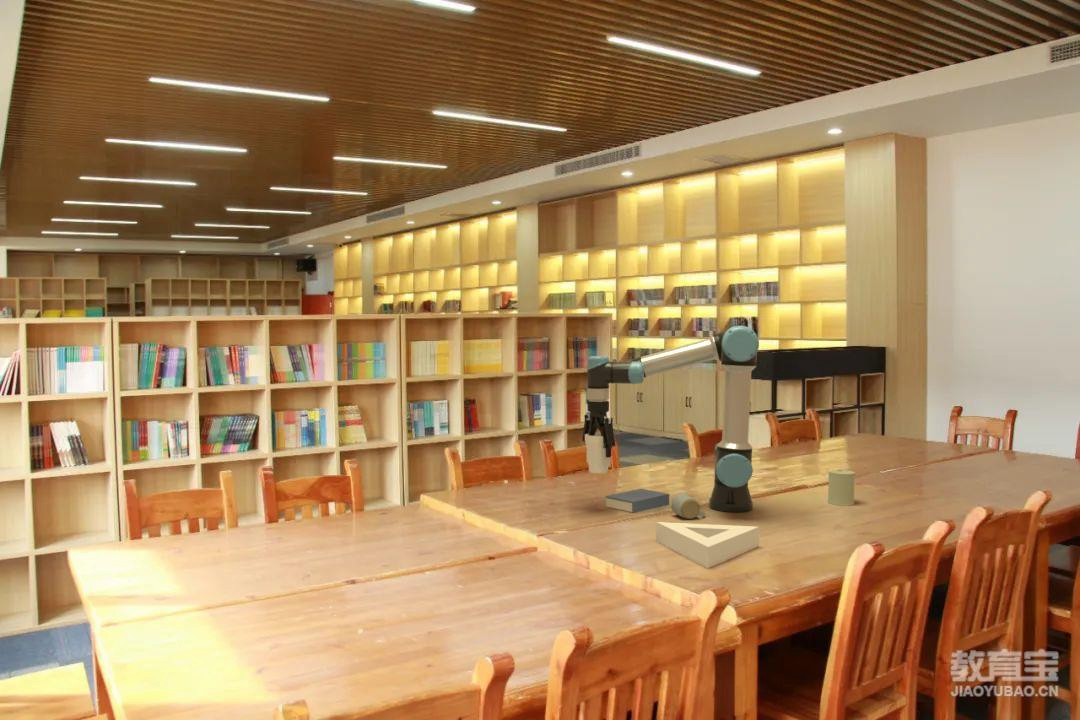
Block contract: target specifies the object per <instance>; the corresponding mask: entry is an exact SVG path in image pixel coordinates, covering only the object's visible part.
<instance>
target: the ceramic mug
mask: <svg viewBox="0 0 1080 720" xmlns="http://www.w3.org/2000/svg"><path fill="white" fill-rule="evenodd" d="M670 506H671V510H672V512H673V513H675V515H676V516H679V517H681V518H683V519H686V520H692V519H693V520H694V519H695V518H696V517H697V516H700V517H702V518H704V517H705V516H706V512H705V511H703V510H702V509H701V507H700V504H699V502H698V501H697V500H696V499H695V498H694V497H692V496H691V495H689V494H688V493H685V492H679V493H677V494H675V495H674V496H673V498H672V499H671V503H670Z"/></svg>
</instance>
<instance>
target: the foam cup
mask: <svg viewBox="0 0 1080 720" xmlns="http://www.w3.org/2000/svg"><path fill="white" fill-rule="evenodd" d="M585 442H586V444H585V451H586V450H587V457H588V463H587V464H588V472H589V473H591V474H606V473H608V471H609V470H608V469H609V467H603V447H604V443H603V436H601V433H600V432H596V433H595V435H593V436H589V434H585ZM585 442H584V443H585Z"/></svg>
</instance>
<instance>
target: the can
mask: <svg viewBox="0 0 1080 720" xmlns="http://www.w3.org/2000/svg"><path fill="white" fill-rule="evenodd" d="M827 472H828V491H827V492H828V494H827V495H828V496H827V503H828V504H830V505H835V506H844V507H845V506H849V507H850V506H854V505H855V474H856V472H854V471H853V470H846V469H830V470H828V471H827Z"/></svg>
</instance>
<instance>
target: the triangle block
mask: <svg viewBox="0 0 1080 720" xmlns="http://www.w3.org/2000/svg"><path fill="white" fill-rule="evenodd" d="M655 523H656V524H655V531H656V532H655V541H656V542H657V543H659V544H662V545H663V546H665V547H666V548H668V549H671V550H672V551H675V552H676V553H678V554H680V555H682V556H685V558H687V559H690V560H691V561H693V562H695V563H697V564H699V565H701V566H703V567H705V568H707V569H709V568H712V567H714V566H716V565H719V564H721V563H723V562H727V561H729V560H731V559H732V558H736V557H738V556H739V555H742V554H744V553H746V552H749V551H751V550H753V549H755V548H757V547H758V548H759V546H760V526H749V525H748V526H747V525H746V526H745V525H729V524H728V525H727V524H711V523H710V524H708V523H707V524H706V523H688V522H687V523H683V522H663V521H656V522H655Z"/></svg>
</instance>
